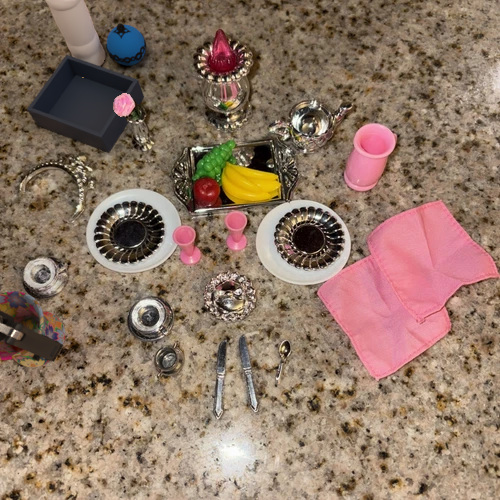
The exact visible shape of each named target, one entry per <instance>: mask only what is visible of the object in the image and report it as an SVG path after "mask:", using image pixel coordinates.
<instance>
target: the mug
mask: <svg viewBox="0 0 500 500" xmlns="http://www.w3.org/2000/svg"><path fill="white" fill-rule="evenodd" d="M0 311H2V312H4V313H6V314H8V315H10V316H12V317H14V322H18V323H19V322H20V323H22V324H23V326H25V327H27V328H29V329H31V330H33V331H35V332H37V333H39V334H41V335H45V336H47V337H49V338H51V339H53V340H55V341H58V342H59V343H61V344H63V345H64V344H65V340H66V330H65V325H64V324H63V321H62V320H61V319H60V318H59V317H58V316H57V315H55V314H54V313H52V312H50V311H47V310H43V309H42V306H41V304H40V303H39V302H38V300H36V298H34V297H33V296H32V295H30V294H28V293H26V292H23V291H19V290H18V291H17V290H10V291H4V292H1V293H0ZM1 317H2V316H1ZM61 351H62V349H61V350H60V352H61ZM33 355H34V354H33V353H31V352H29V351H26V350H24V349H22V348H19V347H17V346H14V345H8V344H6V342H5V341H4V340H2V341H0V361H10V360H14V361H15V362H16V363H18V364H19V365H21V366H24V367H28V368H38V367H41V366H45V365H47V364H49V363H50V362H51V361H49V360H45V358H43V357H41V359H40V360H39V362H38V361H36V360H34V359H32V357H33Z"/></svg>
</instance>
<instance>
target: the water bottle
mask: <svg viewBox="0 0 500 500" xmlns="http://www.w3.org/2000/svg"><path fill="white" fill-rule="evenodd" d="M44 1H45V3H46V4H47V6H48V7H49V11H50V12H51V14H52V17H53V19H54V21H55V24H56V25H57V28H58V30H59V32H60V33H61V35H62V37H63V39H64V41H65V44H66V46H67V48H68V50H69V52H70V53H71V56H72V57H75V58H77V59H80V60H83V61H86V62H89V63H92V64H95V65H98V66H100V67H102V65H103V64H104V62H105V61H106V52H105V49H104V47H103V45H102V43H101V39H100V37H99V34H98V33H97V31H96V29H95V26H94V22H93V19H92V17H91V14H90V11H89V9H88V6H87V4H86V2H85V0H44ZM104 60H105V61H104Z"/></svg>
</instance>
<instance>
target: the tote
mask: <svg viewBox="0 0 500 500" xmlns="http://www.w3.org/2000/svg"><path fill="white" fill-rule="evenodd" d="M82 77H84V78H82ZM122 93H127V94H130V95H131V97H132V98H133V99H134V100H135V101H136V103H137V104H139V106H140V105H141V103H142V102H143V100H144V98H145V96H144V93H143V90H142V85H141V83H140V80H139V79H137V78H134V77H132V76H130V75H126V74H124V73H120V72H117V71H115V70H112V69H109V68H106V67H103V66H98V65H95V64H92V63H89V62H86V61H83V60H80V59H77V58H75V57H72V55H69V54H66V55H65V56H64V57H63V59H61V62H60V63H59V64H58V66H57V67H56V69H54V71H53V72H52V74H51V75H50V76H49V78H48V80H47V81H46V82H45V84H44V85H43V87H42V88H41V89H40V90H39V92H38V93H37V95H36V96H35V98H34V99H33V100H32V101H31V103H30V104H29V106H28V107H27V108H26V111H27V112H28V115H30V117H31V118H32V119H33V121H34V122H35V124H36V125H37V126H38V127H39V126H40V128H42V127H43V128H42V129H45V130H47V129H48V131H50V132H52V133H55V134H58V135H60V136H64V137H66V138H68V139H72V140H74V141H76V142H79V143H81V144H83V145H84V144H85V145H87V146H89V147H93V148H95V149H98V150H100V151H103V152H106V153H108V154H110V152H111V151H112V150H113V147H115V144H116V143H117V142H118V139H119V138H120V137H121V135H122V133H123V132H124V130H125V128H126V127H127V125H128V124H129V122H127V120H126V118H125V117H120V116H118V115H117V114H116V113H115V112H114V110H113V102H114V99H115V98H116V97H117V96H119V95H121V94H122Z"/></svg>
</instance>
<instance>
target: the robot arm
mask: <svg viewBox="0 0 500 500" xmlns="http://www.w3.org/2000/svg"><path fill="white" fill-rule="evenodd" d="M1 316H2V317H1ZM2 340H4V341H5V342H6V344H8V345H14V346H17V347H19V348H22V349H24V350H26V351H29V352H31V353H33V354H34V355H33V357H32V359H34V360H36V361H38V362H39V360H40V359H41V357H43V358H45V360H49V361H50V362H55V361H56V359H57V358H58V356H59V354H60V353H61V351H62V349H63V347H64V344H61V343H59V342H58V341H55V340H53V339H51V338H49V337H47V336H45V335H41V334H39V333H37V332H35V331H33V330H31V329H29V328H27V327H25V326H23V324H22V323H20V322H19V323H18V322H14V317H12V316H10V315H8V314H6V313H4V312H2V311H0V341H2ZM60 350H61V351H60Z"/></svg>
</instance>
